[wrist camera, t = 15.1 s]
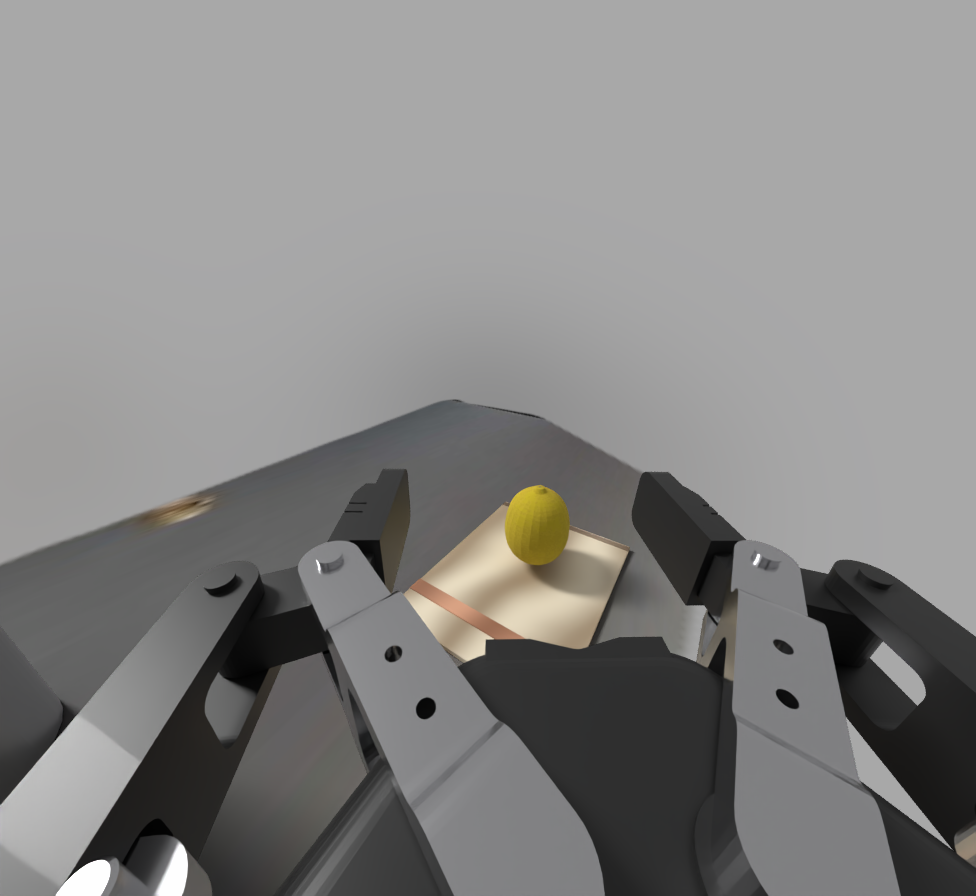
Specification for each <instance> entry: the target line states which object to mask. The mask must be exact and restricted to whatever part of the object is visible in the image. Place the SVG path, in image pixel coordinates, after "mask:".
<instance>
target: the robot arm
mask: <svg viewBox="0 0 976 896" xmlns="http://www.w3.org/2000/svg"><path fill="white" fill-rule="evenodd" d="M632 521H633V525H634V527H635V529H636V530H637V532H638V533H639V535H640V536H641V538H642V539H643V541H644V542H645V544H646V546H647V547H648V549H649V550H650V552H651V553H652V555H653V556H654V558H655V559H656V561H657V562H658V564H659V565H660V567H661V568H662V570H663V571H664V573H665V574H666V576H667V578H668V579H669V581H670V582H671V584H672V585H673V587H674V588H675V590H676V591H677V593H678V594H679V596H680V597H681V599H682V600H683V602H684V603H685V605H704V606H705V607H706V608H707V610H706V613H705V615H704V618H703V623H702V629H701V636H700V642H699V648H698V654H697V661H696V662H695V661H692V660H690V659H688V658H685V657H682V656H679V655H676V654H673V653H670V651H669V650H668V648H667V646H666V644H665V642H664V640H663V638H662V637H619V638H616V639H612V640H609V641H606V642H602V643H599V644H596V645H592V646H589V647H586V648H582V649H573V648H568V647H564V646H560V645H555V644H551V643H546V642H542V641H537V640H533V639H486V643H485V655H482V656H479V657H476V658H474V659H472V660H469V661H467V662H465V663H463V664H462V665H460V666H458V667H457V666H456V665H455V664H454V662H453V661H452V659H451V658H450V657H449V655H448V654H447V653H446V651H445V650H444V649H443V647H442V646H441V645H440V643H439V642H438V640H437V639H436V638H435V636H434V635H433V634H432V632H431V631H430V630H429V628H428V627H427V626H426V624H425V623H424V621H423V620H422V619H421V617H420V616H419V615H418V613H417V612H416V611H415V609H414V608H413V607H412V605H411V604H410V602H409V601H408V600H407V598H406V597H405V596H404V595H403V594H402V593H401V592H400V591H396V592H394V593H392V591H393V587H394V583H395V579H396V575H397V571H398V567H399V564H400V560H401V556H402V552H403V548H404V544H405V540H406V536H407V532H408V528H409V523H410V499H409V486H408V474H407V470H406V469H383V470H382V472H381V474H380V476H379V478H378V480H377V482H376V484H365V485H364V486H362V487H361V488H360V489H358V490H357V491H356V492H355V493H354V495H353V497H352V498H351V500H350V502H349V504H348V506H347V507H346V509H345V513H343V515H342V516H341V518H340V520H339V522H338V524H337V526H336V527H335V529H334V531H333V533H332V535H331V536H330V538H329V540H328V542H327V543H324V544H321V545H319V546H317V547H315V548H313V549H311V550H310V551H309V552H307V553H306V554H305V555H304V556H303V558H302V559H301V561H300V562H299V565H298V566H296V567H293V568H289V569H285V570H281V571H277V572H272V573H268V574H264V575H260V574H259V571H258V568H257V567H256V565H254V564H253V563H250V562H246V561H234V562H229V563H225V564H221V565H218V566H216V567H213V568H211V569H209V570H207V571H205V572H204V573H202V574H200V575H199V576H197V577H196V578H195V579H194V580H192V581H191V582H190V583H189V584H188V585H187V587H186V588H185V589H184V590H183V591H182V592H181V594H180V595H179V596H178V597H177V598H176V599H175V601H174V602H173V603H172V604H171V605H170V607H169V608H168V609H167V610H166V611H165V612H164V614H163V615H162V616H161V617H160V618H159V619H158V621H157V622H156V623H155V624H154V625H153V627H152V628H151V629H150V630H149V631H148V632H147V634H146V635H145V636H144V637H143V638H142V639H141V641H140V642H139V643H138V644H137V645H136V647H135V648H134V649H133V650H132V651H131V652H130V654H129V655H128V656H127V657H126V658H125V659H124V661H123V662H122V663H121V664H120V665H119V667H118V668H117V669H116V670H115V671H114V672H113V674H112V675H111V676H110V677H109V678H108V679H107V681H106V682H105V683H104V684H103V685H102V687H101V688H100V689H99V690H98V691H97V692H96V694H95V695H94V696H93V697H92V698H91V699H90V701H89V702H88V703H87V704H86V705H85V707H84V708H83V709H82V710H81V711H80V712H79V714H78V715H77V716H76V717H75V718H74V719H73V721H72V722H71V723H70V724H69V725H68V726H67V728H66V729H65V730H64V731H63V732H62V734H61V735H60V736H59V737H58V738H57V739H56V741H55V742H54V743H53V741H54V740H55V738H56V736H57V733H58V731H59V728H60V725H61V723H62V716H63V707H62V705H61V702H60V700H59V698H58V697H57V696H56V694H55V693H54V692H53V691H52V690H51V688H50V687H49V686H48V685H47V683H46V682H45V681H44V680H43V678H42V677H41V676H40V675H39V674H38V672H37V671H36V670H35V669H34V667H33V666H32V665H31V664H30V662H29V661H28V660H27V659H26V657H25V656H24V654H23V653H22V652H21V651H20V649H19V648H18V647H17V646H16V645H15V643H14V642H13V641H12V640H11V638H10V637H9V636H8V635H7V634H6V632H5V631H4V630H3V629H2V627H1V626H0V896H212V887H211V882H210V879H209V877H208V875H207V873H206V872H205V871H204V870H203V868H202V867H201V866H200V865H199V864H198V862H197V861H198V858H199V856H200V854H201V851H202V849H203V847H204V844H205V842H206V840H207V837H208V835H209V833H210V830H211V828H212V826H213V823H214V821H215V819H216V816H217V814H218V812H219V810H220V807H221V805H222V803H223V800H224V798H225V796H226V793H227V791H228V789H229V786H230V784H231V782H232V779H233V777H234V775H235V772H236V770H237V768H238V765H239V763H240V761H241V758H242V756H243V754H244V751H245V749H246V747H247V745H248V742H249V740H250V738H251V735H252V733H253V731H254V728H255V726H256V724H257V721H258V719H259V717H260V714H261V712H262V710H263V707H264V705H265V703H266V700H267V698H268V696H269V693H270V691H271V689H272V687H273V684H274V682H275V680H276V677H277V675H278V673H279V670H280V668H281V666H282V664H285V663H288V662H291V661H295V660H298V659H301V658H304V657H307V656H310V655H314V654H317V653H321V656H322V658H323V661H324V663H325V665H326V668H327V670H328V673H329V675H330V678H331V680H332V683H333V685H334V687H335V690H336V692H337V695H338V697H339V700H340V702H341V705H342V707H343V710H344V712H345V715H346V717H347V720H348V723H349V726H350V729H351V732H352V735H353V738H354V741H355V744H356V747H357V749H358V752H359V754H360V757H361V759H362V762H363V764H364V767H365V769H366V772H367V775H366V777H365V778H364V779H363V781H362V782H361V783H360V785H359V786H358V787H357V788H356V790H355V791H354V792H353V794H352V795H351V796H350V797H349V799H348V800H347V801H346V803H345V804H344V805H343V807H342V808H341V809H340V810H339V812H338V813H337V814H336V816H335V817H334V818H333V819H332V821H331V822H330V823H329V825H328V826H327V827H326V828H325V830H324V831H323V832H322V834H321V835H320V836H319V838H318V839H317V840H316V841H315V843H314V844H313V845H312V847H311V848H310V849H309V850H308V852H307V853H306V854H305V856H304V857H303V858H302V860H301V861H300V862H299V863H298V865H297V866H296V867H295V869H294V870H293V871H292V872H291V874H290V875H289V876H288V878H287V879H286V880H285V881H284V883H283V884H282V885H281V887H280V888H279V889H278V891H277V892H276V893H275V894H274V896H976V637H975V636H974V635H973V634H971V633H970V632H969V631H967V630H966V629H965V628H963V627H962V626H960V625H959V624H958V623H956V622H955V621H954V620H952V619H951V618H950V617H948V616H947V615H946V614H944V613H943V612H942V611H940V610H939V609H937V608H936V607H935V606H934V605H932V604H931V603H930V602H928V601H927V600H925V599H924V598H923V597H921V596H920V595H919V594H917V593H916V592H915V591H913V590H912V589H910V588H909V587H908V586H907V585H905V584H904V583H903V582H901V581H900V580H898V579H897V578H895V577H894V576H892V575H890V574H889V573H886V572H885V571H883V570H881V569H878V568H876V567H873V566H871V565H868V564H865V563H861V562H858V561H853V560H839V561H837V562H835V564H834V565H833V567H832V569H831V570H830V572H829V574H825V573H821V572H816V571H811V570H806V569H802V568H800V567H799V566H798V564H797V563H796V562H795V561H794V560H793V559H792V558H791V557H790V556H789V555H787V554H786V553H784V552H783V551H781V550H779V549H777V548H775V547H773V546H770V545H768V544H765V543H762V542H758V541H752V540H746V539H745V538H744V537H743V536H741V535H740V534H739V533H738V532H737V531H736V530H735V529H734V528H733V527H732V526H731V525H730V524H729V523H728V522H727V521H726V520H725V519H724V518H723V517H722V516H720V515H718V513H717V512H716V511H715V510H714V509H713V508H712V507H709V504H708V503H707V502H706V501H705V500H704V499H702V498H701V497H700V496H699V495H698V494H696V493H694V492H693V491H691V490H689V489H688V488H686V487H684V486H682V485H681V484H680V483H679V482H678V481H677V480H676V479H675V478H674V477H673V476H672V475H671V474H670V473H668V472H644V473H643V474H642V475H641V478H640V481H639V485H638V489H637V493H636V497H635V501H634V505H633V508H632ZM883 641H884V642H885V643H886V644H887V645H888V646H889V647H890V648H891V649H892V650H893V651H894V652H895V653H896V654H897V655H899V656H900V657H901V658H902V659H903V660H904V661H905V662H906V663H907V664H908V665H909V666H910V667H912V668H913V669H914V670H915V671H916V673H917V674H918V675H919V676H920V678H921V679H922V681H923V683H924V685H925V689H926V696H925V699H924V700H923V701H922V702H921V703H920V704H919V705H918V706H917V705H916V704H915V703H914V702H913V701H912V700H911V699H910V698H909V697H908V696H907V695H906V694H905V693H904V692H903V691H902V690H901V689H900V688H899V687H898V686H897V685H896V684H895V683H894V682H893V681H892V680H891V679H890V678H889V677H888V676H887V675H886V674H885V673H884V672H883V671H882V670H881V669H880V668H879V667H878V666H877V665H876V664H875V663H874V662H873V661H872V660H871V659H870V657H871V655H872V654H873V653H874V652H875V650H876V649H877V648H878V647H879V646H880V644H881V643H882V642H883ZM845 716H846V717H847V719H848V720H849V721H850V722H851V723H852V725H853V726H854V727H855V729H856V730H857V731H858V732H859V734H860V735H861V736H862V737H863V739H864V740H865V741H866V742H867V743H868V745H869V746H870V747H871V749H872V750H873V751H874V752H875V754H876V755H877V756H878V757H879V758H880V760H881V761H882V762H883V764H884V765H885V766H886V767H887V768H888V770H889V771H890V772H891V773H892V775H893V776H894V777H895V778H896V780H897V781H898V782H899V783H900V785H901V786H902V787H903V788H904V790H905V791H906V792H907V793H908V795H909V796H910V797H911V798H912V800H913V801H914V802H915V803H916V805H917V806H918V807H919V808H920V810H921V811H922V812H923V813H924V815H925V816H926V817H927V818H928V820H929V821H930V822H931V823H932V825H933V826H934V827H935V828H936V830H938V832H939V833H940V834H941V836H942V837H943V838H944V839H945V841H946V842H947V843H948V844H949V846H950V847H951V848H952V849H953V850H952V849H950V848H949V847H948V846H946V845H945V844H944V843H942V842H941V841H940V840H938V839H937V838H935V837H934V836H933V835H931V834H930V833H929V832H928V831H926V830H925V829H924V828H922V827H921V826H920V825H918V824H917V823H916V822H914V821H913V820H912V819H910V818H909V817H908V816H906V815H905V814H904V813H902V812H901V811H900V810H898V809H897V808H896V807H894V806H893V805H892V804H890V803H889V802H888V801H886V800H885V799H884V798H882V797H881V796H880V795H878V794H877V793H875V792H874V791H873V790H872V789H870V788H869V787H868V786H866V785H865V784H864V783H862V782H861V781H860V780H859V777H858V773H857V769H856V765H855V759H854V755H853V750H852V746H851V741H850V736H849V731H848V726H847V722H846V717H845ZM52 743H53V744H52Z"/></svg>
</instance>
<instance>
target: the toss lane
mask: <svg viewBox="0 0 976 896" xmlns="http://www.w3.org/2000/svg"><path fill="white" fill-rule="evenodd" d="M509 505H510V503H508V502H505V503H504V504H503V505H502V506H501V507H500V508H499V509H497V510H496V511H495V512H494V513H493V514H492V515H491V516H490V517H489V518H487V519H486V520H485V521H484V522H483V523H482V524H481V525H480V526H479V527H477V528H476V529H475V530H474V531H473V532H472V533H471V534H470V535H469V536H468V537H466V538H465V539H464V540H463V541H462V542H461V543H460V544H459V545H458V546H456V547H455V548H454V549H453V550H452V551H451V552H450V553H449V554H448V555H446V556H445V557H444V558H443V559H442V560H441V561H440V562H439V563H438V564H437V565H435V566H434V567H433V568H432V569H431V570H430V571H429V572H428V573H427V574H425V575H424V576H423V577H422V578H421V579H419V580H418V581H417V582H416V583H414V584H413V585H412V586H411V587H410V589H409V590H408V591H407V592H405V593H404V594H403V595H404V596H405V597H406V598H407V600H408V601H409V602H410V604H411V605H412V607H413V608H414V609H415V611H416V612H417V613H418V615H419V616H420V617H421V619H422V620H423V621H424V623H425V624H426V626H427V627H428V628H429V630H430V631H431V632H432V634H433V635H434V636H435V638H436V639H437V640H438V642H439V643H440V645H441V646H442V647H443V649H444V650H445V651H447V652H448V653H450V654H451V655H453V656H454V657H456V658H457V659H459V660H460V661H462V662H463V663H465V662H467V661H469V660H472V659H474V658H476V657H479V656H482V655H485V643H486V639H533V640H537V641H542V642H546V643H551V644H555V645H560V646H564V647H568V648H573V649H582V648H586V647H589V645H590V642H591V640H592V638H593V635H594V633H595V631H596V628H597V626H598V624H599V621H600V619H601V616H602V614H603V612H604V609H605V607H606V605H607V602H608V600H609V597H610V595H611V593H612V590H613V588H614V586H615V583H616V581H617V578H618V576H619V574H620V571H621V569H622V567H623V564H624V562H625V559H626V557H627V555H628V552H629V549H630V547H628V546H625V545H622V544H619V543H617V542H614V541H611V540H609V539H606V538H603V537H600V536H598V535H595V534H592V533H589V532H587V531H584V530H581V529H578V528H576V527H573V526H570V528H569V536H568V541H567V544H566V546H565V548H564V550H563V551H562V553H561V554H560V555H559V556H558V557H557V558H556V559H555V560H553V561H552V562H550V563H547V564H544V565H531V564H527V563H525V562H523V561H521V560H520V559H518V558H517V557H516V556H515V555H514V554H513V553H512V551H511V549H510V548H509V546H508V544H507V540H506V536H505V519H506V514H507V510H508V507H509Z"/></svg>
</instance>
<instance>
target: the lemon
mask: <svg viewBox="0 0 976 896" xmlns="http://www.w3.org/2000/svg"><path fill="white" fill-rule="evenodd" d="M569 528H570V522H569V515H568V511H567V507H566V505H565V503H564V501H563V500H562V498H561V497H560V496H559V495H558V494H557V493H555V492H554V491H553V490H551V489H549V488H546V487H544V486H542V485H538V486H533V487H528V488H526V489H524V490H522V491H520V492H519V493H518V494H517V495H516V496H515V497H514V498H513V500H512V501H511V503H510V505H509V507H508V510H507V514H506V519H505V536H506V540H507V544H508V546H509V548H510V549H511V551H512V553H513V554H514V555H515V556H516V557H517V558H518V559H520V560H521V561H523V562H525V563H527V564H531V565H544V564H547V563H550V562H552V561H553V560H555V559H556V558H557V557H558V556H559V555H560V554H561V553H562V551H563V550H564V548H565V546H566V544H567V541H568V536H569Z"/></svg>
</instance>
